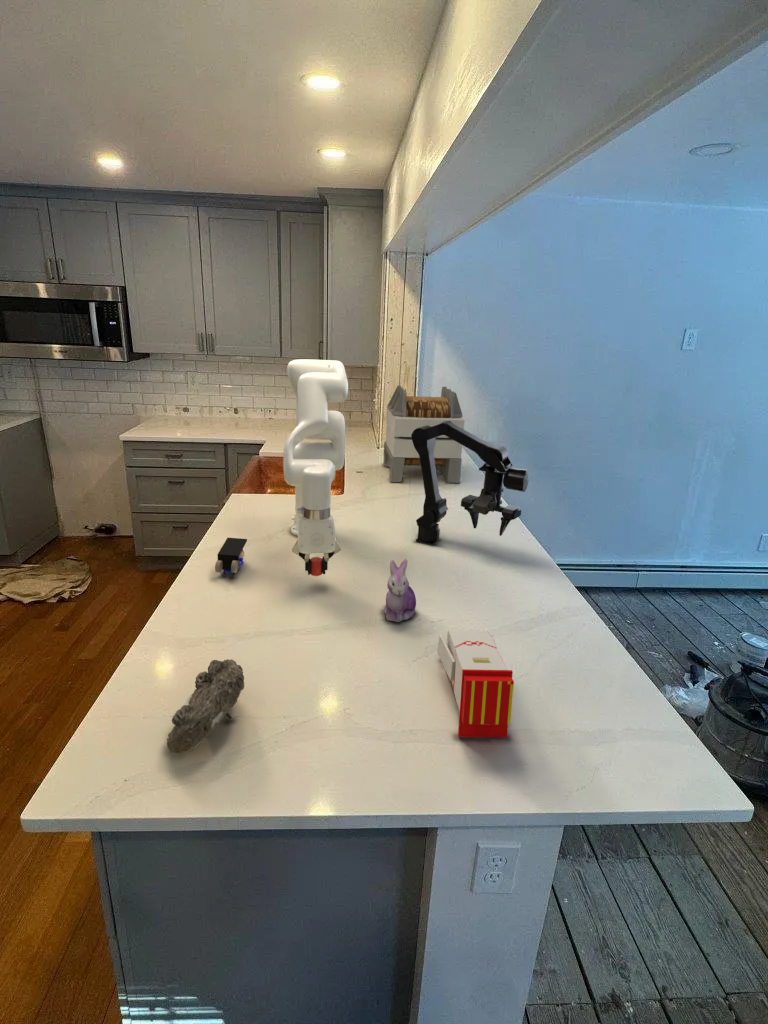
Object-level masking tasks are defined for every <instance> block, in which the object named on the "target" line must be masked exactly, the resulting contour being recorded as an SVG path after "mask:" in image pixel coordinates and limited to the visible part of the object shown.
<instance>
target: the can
mask: <svg viewBox="0 0 768 1024" xmlns="http://www.w3.org/2000/svg"><path fill="white" fill-rule="evenodd" d="M322 558H323V557H319V556H314V557H311V558H310V562H311V574H310V576H313V577H321V576H322V575H323V573H322Z"/></svg>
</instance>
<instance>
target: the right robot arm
mask: <svg viewBox="0 0 768 1024" xmlns="http://www.w3.org/2000/svg"><path fill="white" fill-rule="evenodd" d="M441 435H445V436H447V437H449V438H451V439H453V440H454V441H456V442H458V443H460V444H461V445H462V447H465V448H467V450H468V449H469V450H470V451H472V452H474V453H475V454H476V455H477V457H479V459H480V460H482V462H484V464H483V465H482V466H481V467H479V468H478V471H481V472H484V480H483V487H482V488H481V491H480V494H479V496H477V495H472V494H468V495H466V496H463V498H461V500H460V507H463V509H464V510H465V511H467V512H468V514H469V516H470V520H471V523H472V526H473V529H477V527H478V524H479V516H480V514H481V515H484V516H486V515H488V514H489V512H492V513H494V512H498V513H501V517H500V521H501V522H500V527H499V537H502V536H503V534H504V532H505V531H506V529H507V527H508V525H509V524H510V522H511V521H514V520H516V519H517V518H519V517H521V515H522V509H521V507H520V506H516V505H513V504H509V505H506V506H503V505H502V504H503V500H501V499H502V493H504V489H508V490H512V491H517V492H523V493H525V492H526V490H527V489H528V486H529V480H530V479H529V473H528V469H526V468H517V467H514V464H513V462H512V461H511V459H510V457H509V452H508V449H507V447H505V446H504V445H501V444H499V443H495V442H493V441H489V440H488V441H487V440H484V439H483V438H480V437H478V436H477V435H474V434H473V433H471V432H469V431H468V430H466V429H465V428H464V429H462V428H460V427H458V426H457V425H455V424H453V423H452V422H451V421H445V422H442V423H440V424H438V425H435V426H432V427H431V426H429V425H425V426H422V427H420V428H417V429H415V430H414V431H413V432H412V435H411V438H412V442H413V445H414V448H415V449H416V451H417V452H418V454H419V457H420V464H421V466H420V470H421V476H422V483H423V490H424V496H425V498H424V502H423V506H422V508H423V509H422V515H421V516H420V517H418V518H416V520H415V522H416V526H417V538H416V539H415V542H417V543H421V544H425V545H430V546H435V544H436V543H437V542H438V541H439V540H440V532H441V528H439V526H440V524H439V522H441V520H442V519H444V518H445V517H446V515H447V511H448V510H449V507H448V505H447V500H448V499H447V498H446V497H444V498H443V497H442V495H441V494H440V490H439V483H438V476H437V467H436V466H435V461H434V454H433V451H434V447H435V440H436V437H438V436H441ZM503 487H504V488H503Z"/></svg>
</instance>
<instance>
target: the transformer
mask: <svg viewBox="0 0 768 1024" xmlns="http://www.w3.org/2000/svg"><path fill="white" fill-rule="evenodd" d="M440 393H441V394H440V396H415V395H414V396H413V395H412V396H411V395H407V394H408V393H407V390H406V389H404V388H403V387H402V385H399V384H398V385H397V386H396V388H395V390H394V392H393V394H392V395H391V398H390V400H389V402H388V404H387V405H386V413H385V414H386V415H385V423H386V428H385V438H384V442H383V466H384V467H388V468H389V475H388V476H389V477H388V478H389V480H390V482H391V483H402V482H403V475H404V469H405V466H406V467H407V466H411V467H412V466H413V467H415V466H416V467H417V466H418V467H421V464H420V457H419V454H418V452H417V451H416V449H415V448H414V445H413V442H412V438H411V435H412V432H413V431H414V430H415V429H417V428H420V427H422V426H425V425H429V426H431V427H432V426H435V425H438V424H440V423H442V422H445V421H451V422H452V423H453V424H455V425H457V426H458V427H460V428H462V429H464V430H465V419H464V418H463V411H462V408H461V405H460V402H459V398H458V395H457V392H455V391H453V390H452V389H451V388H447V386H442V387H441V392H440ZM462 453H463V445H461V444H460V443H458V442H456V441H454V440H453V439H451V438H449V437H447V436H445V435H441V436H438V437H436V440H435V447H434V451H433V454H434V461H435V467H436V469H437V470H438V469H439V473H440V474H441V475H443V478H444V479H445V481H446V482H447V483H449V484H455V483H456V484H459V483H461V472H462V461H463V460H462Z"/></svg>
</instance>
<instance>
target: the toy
mask: <svg viewBox="0 0 768 1024" xmlns="http://www.w3.org/2000/svg"><path fill="white" fill-rule="evenodd" d="M446 640H447V643H446V641H445V639H444V636H443V635H442V634H439V637H438V646H437V656H438V657H439V659H440V661H441V663H442V666H443V668H444V670H445V672H446V674H447V677H448V679H449V681H450V684H451V687H452V690H453V693H454V697H455V701H456V705H457V708H458V711H459V714H458V715H459V716H458V730H457V731H458V732H457V737H458V738H508V731H509V726H510V725H511V717H512V707H513V697H514V696H513V695H514V684H515V680H514V679H513V673H514V671H513V670H512V669H508V667H507V665H506V662H505V661H504V659H503V658H502V655H501V653H500V651H499V649H498V647H497V643H496V639H495V637H494V635H493V634H491V632H490V631H489V629H467V628H466V629H465V628H463V629H461V628H460V629H459V628H448V630H447V639H446Z"/></svg>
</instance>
